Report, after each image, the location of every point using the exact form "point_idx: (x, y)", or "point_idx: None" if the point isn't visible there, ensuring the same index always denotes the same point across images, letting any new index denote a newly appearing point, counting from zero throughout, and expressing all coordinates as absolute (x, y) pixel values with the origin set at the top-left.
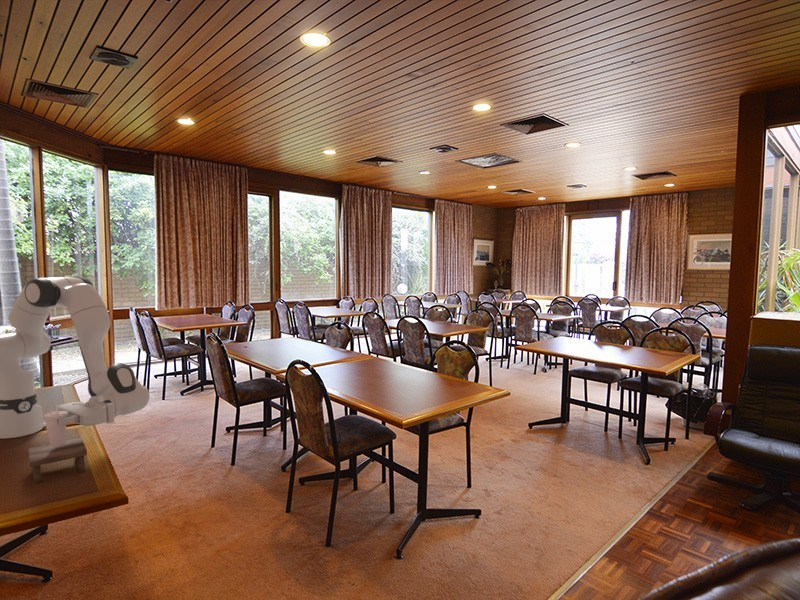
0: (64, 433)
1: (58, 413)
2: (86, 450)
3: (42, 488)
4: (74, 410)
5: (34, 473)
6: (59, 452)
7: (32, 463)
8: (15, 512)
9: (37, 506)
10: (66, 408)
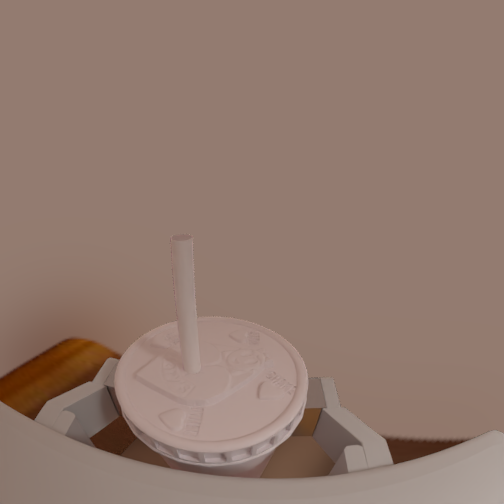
0: None
1: (175, 365)
2: None
3: None
4: (119, 481)
5: None
6: (167, 467)
7: None
8: (102, 355)
9: (80, 374)
10: (329, 494)
